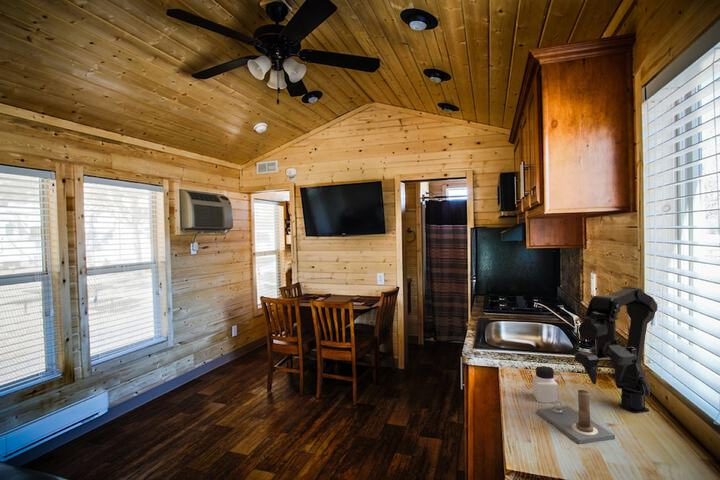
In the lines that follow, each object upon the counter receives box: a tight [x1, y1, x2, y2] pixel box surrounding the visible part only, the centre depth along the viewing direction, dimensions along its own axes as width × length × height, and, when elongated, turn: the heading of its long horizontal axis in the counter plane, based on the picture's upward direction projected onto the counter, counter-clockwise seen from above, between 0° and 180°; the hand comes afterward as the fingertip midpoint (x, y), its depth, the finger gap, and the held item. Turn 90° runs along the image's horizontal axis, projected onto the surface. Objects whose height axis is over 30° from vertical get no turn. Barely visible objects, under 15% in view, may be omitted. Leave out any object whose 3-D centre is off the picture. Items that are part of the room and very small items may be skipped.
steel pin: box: [552, 400, 563, 414], centre depth 129 cm, size 3×3×3 cm
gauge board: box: [536, 405, 616, 445], centre depth 122 cm, size 12×20×1 cm, turn 10°
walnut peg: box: [576, 389, 593, 432], centre depth 117 cm, size 5×5×12 cm
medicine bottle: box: [532, 365, 559, 404], centre depth 141 cm, size 7×7×12 cm
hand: (606, 382), depth 123 cm, fingers open, 9 cm apart
